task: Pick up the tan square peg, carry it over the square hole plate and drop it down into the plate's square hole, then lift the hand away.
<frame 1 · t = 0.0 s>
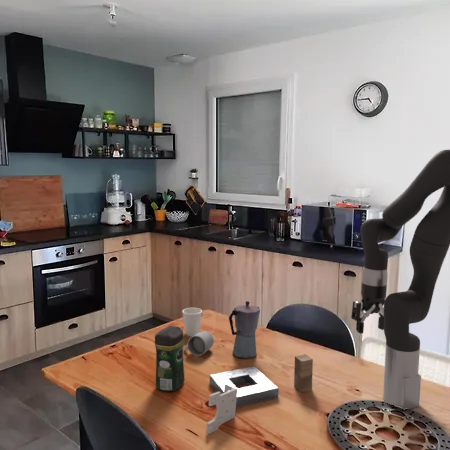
hand: (370, 330, 142), 17 cm above the table, tool pointing down, fingers open, 8 cm apart
coffee jar: (169, 385, 142), on the table
ceramic mug: (197, 352, 167), on the table
square hole plate: (243, 390, 138), on the table
dixie cup: (192, 334, 185), on the table
tan square peg: (302, 388, 140), on the table
bracket: (217, 423, 121), on the table
moka pot: (244, 355, 165), on the table
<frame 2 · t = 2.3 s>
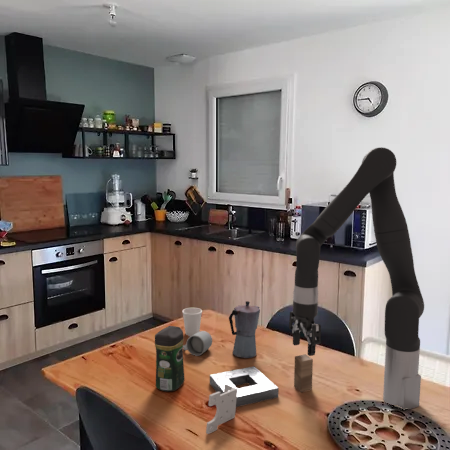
hand: (303, 349, 139), 12 cm above the table, tool pointing down, fingers open, 8 cm apart
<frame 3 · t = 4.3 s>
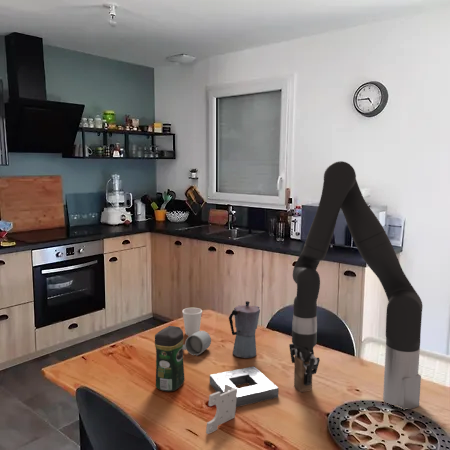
hand: (303, 381, 140), 2 cm above the table, tool pointing down, fingers closed on tan square peg, 4 cm apart
tan square peg: (302, 388, 140), on the table, touching gripper
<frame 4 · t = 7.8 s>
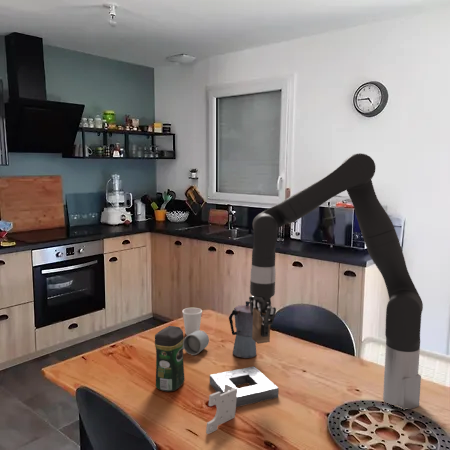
hand: (260, 333, 137), 18 cm above the table, tool pointing down, fingers closed on tan square peg, 4 cm apart
tan square peg: (260, 340, 137), point 16 cm above the table, touching gripper
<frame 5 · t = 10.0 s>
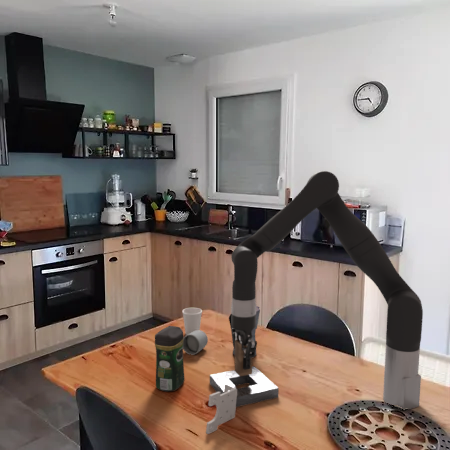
hand: (243, 365, 137), 8 cm above the table, tool pointing down, fingers closed on tan square peg, 4 cm apart
tan square peg: (243, 372, 138), point 6 cm above the table, touching gripper
when the fingers open (4 cm above the table, at t = 11.5 s): tan square peg drops 2 cm, resting in square hole plate.
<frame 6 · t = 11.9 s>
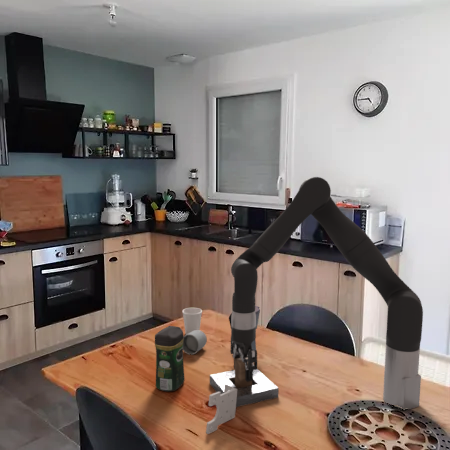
hand: (243, 374, 138), 5 cm above the table, tool pointing down, fingers open, 8 cm apart
tan square peg: (243, 390, 138), resting in square hole plate
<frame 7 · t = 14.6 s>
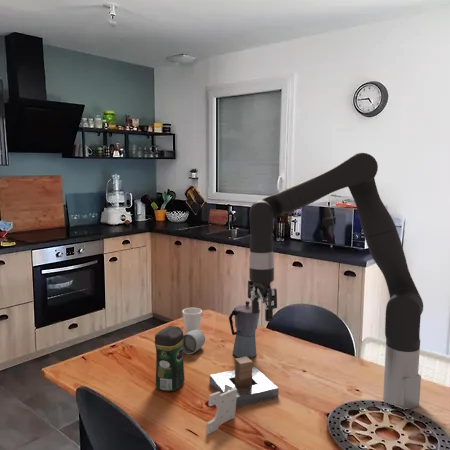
hand: (261, 316, 138), 23 cm above the table, tool pointing down, fingers open, 8 cm apart
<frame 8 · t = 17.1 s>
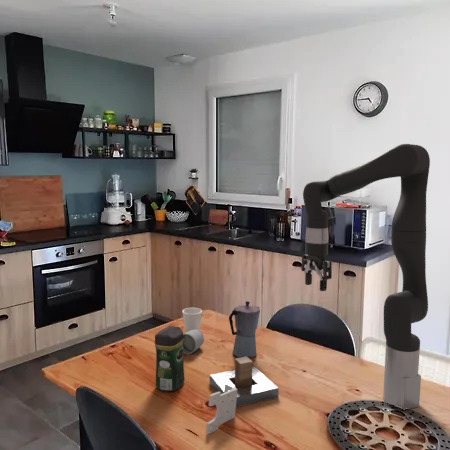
hand: (315, 287, 152), 28 cm above the table, tool pointing down, fingers open, 8 cm apart
at the end: tan square peg 0.2 cm off-centre on the square hole plate, point 0.0 cm above the square hole plate's base; tan square peg tilted 0°; the gripper is holding nothing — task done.
